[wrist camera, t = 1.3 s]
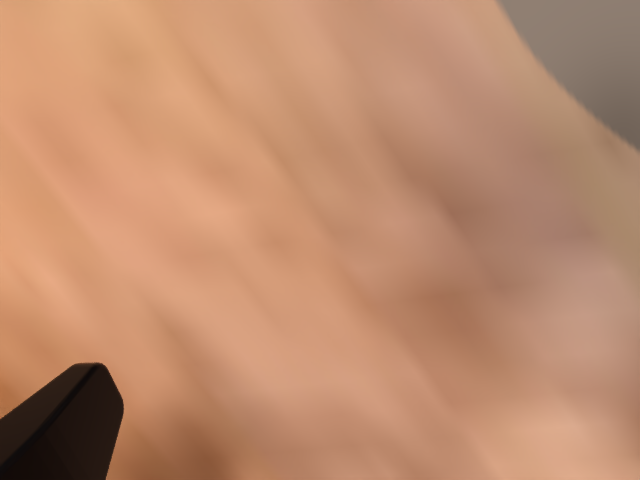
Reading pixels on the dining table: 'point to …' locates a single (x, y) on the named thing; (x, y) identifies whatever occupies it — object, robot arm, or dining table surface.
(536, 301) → the dining table surface
